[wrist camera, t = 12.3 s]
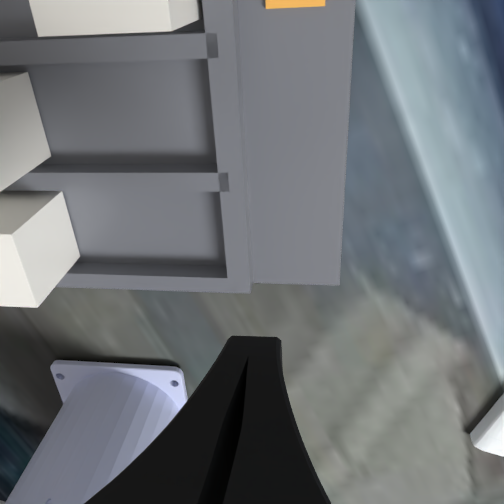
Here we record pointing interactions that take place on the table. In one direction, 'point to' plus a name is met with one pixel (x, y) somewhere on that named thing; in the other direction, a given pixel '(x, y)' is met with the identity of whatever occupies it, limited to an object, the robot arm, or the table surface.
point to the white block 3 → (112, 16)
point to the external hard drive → (491, 430)
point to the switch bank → (196, 144)
